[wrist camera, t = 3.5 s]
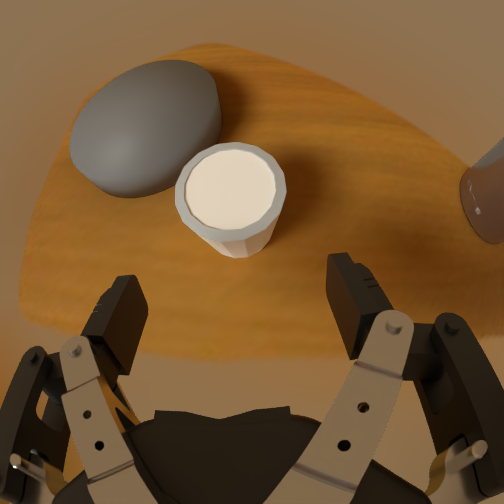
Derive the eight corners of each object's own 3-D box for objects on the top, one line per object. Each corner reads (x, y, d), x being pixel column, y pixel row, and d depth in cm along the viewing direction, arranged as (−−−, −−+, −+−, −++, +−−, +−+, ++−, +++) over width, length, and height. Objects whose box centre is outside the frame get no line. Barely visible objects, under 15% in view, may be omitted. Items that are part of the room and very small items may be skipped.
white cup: (209, 275, 22) (185, 256, 15) (191, 201, 24) (167, 158, 17) (291, 252, 22) (302, 222, 15) (266, 179, 24) (267, 130, 17)
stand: (227, 76, 27) (223, 51, 24) (217, 193, 24) (208, 169, 20) (109, 96, 28) (97, 77, 24) (73, 204, 24) (51, 189, 20)
